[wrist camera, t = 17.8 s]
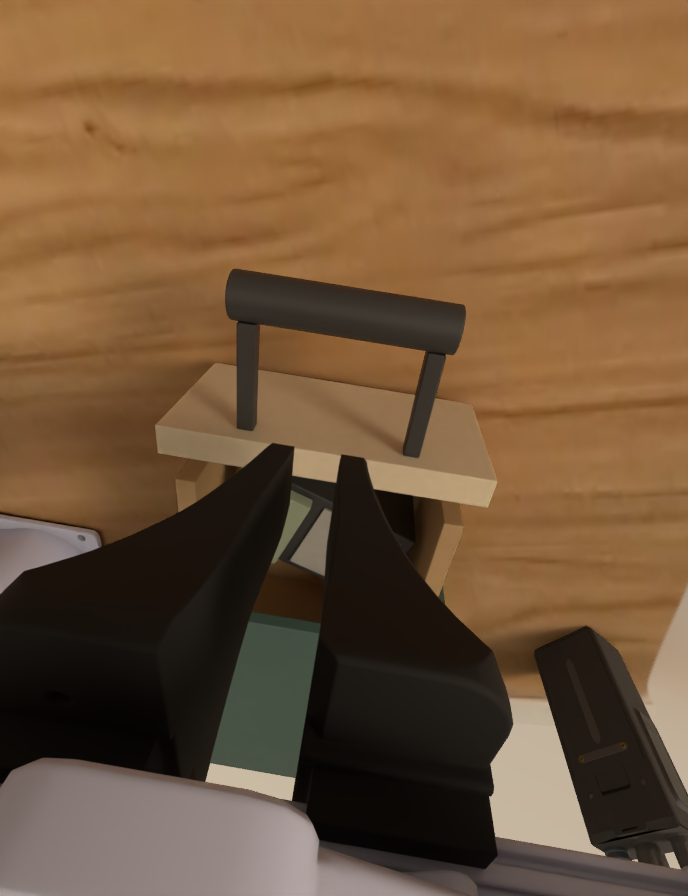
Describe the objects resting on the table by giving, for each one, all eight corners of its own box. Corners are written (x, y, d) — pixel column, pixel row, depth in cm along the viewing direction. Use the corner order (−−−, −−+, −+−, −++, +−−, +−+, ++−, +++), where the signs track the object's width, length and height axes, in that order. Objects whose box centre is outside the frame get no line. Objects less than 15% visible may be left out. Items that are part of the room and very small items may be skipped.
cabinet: (213, 497, 26) (152, 605, 19) (437, 534, 26) (451, 656, 19) (218, 643, 33) (175, 757, 27) (391, 673, 33) (390, 795, 27)
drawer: (211, 235, 18) (135, 260, 12) (510, 282, 17) (559, 328, 12) (220, 563, 27) (180, 652, 22) (411, 595, 27) (414, 692, 22)
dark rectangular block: (370, 549, 24) (365, 609, 21) (250, 493, 23) (225, 547, 20) (413, 495, 22) (417, 553, 19) (283, 430, 21) (261, 479, 17)
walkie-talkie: (559, 675, 31) (755, 1266, 14) (529, 652, 30) (701, 1258, 13) (623, 648, 29) (941, 1305, 12) (593, 623, 28) (894, 1299, 11)
